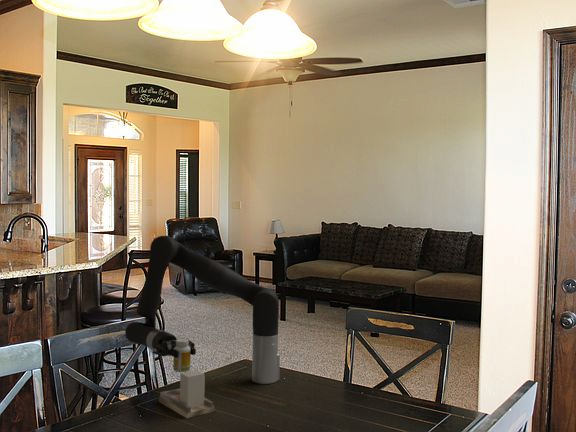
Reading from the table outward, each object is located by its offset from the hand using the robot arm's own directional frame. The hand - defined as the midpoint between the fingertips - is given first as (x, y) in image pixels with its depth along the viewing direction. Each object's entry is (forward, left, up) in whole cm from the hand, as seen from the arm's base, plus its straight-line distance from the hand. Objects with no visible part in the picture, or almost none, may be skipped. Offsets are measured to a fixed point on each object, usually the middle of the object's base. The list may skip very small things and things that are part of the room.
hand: (186, 353), depth 197 cm
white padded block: (0, +4, -16) cm, 16 cm away
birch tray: (0, +1, -17) cm, 17 cm away
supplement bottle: (0, -3, -6) cm, 7 cm away
